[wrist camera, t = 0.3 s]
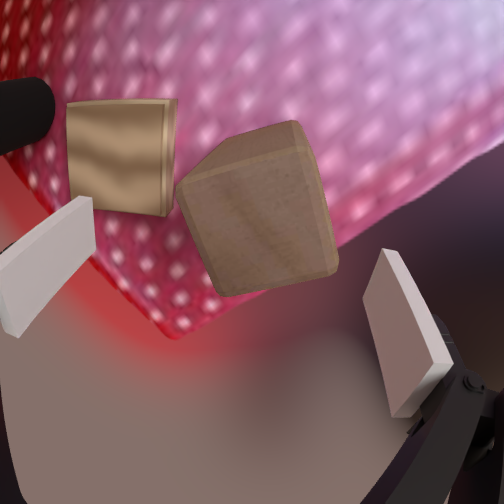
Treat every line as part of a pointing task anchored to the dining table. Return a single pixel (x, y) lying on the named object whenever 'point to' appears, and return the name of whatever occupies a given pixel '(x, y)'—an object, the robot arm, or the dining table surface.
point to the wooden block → (260, 211)
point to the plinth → (123, 153)
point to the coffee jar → (24, 112)
